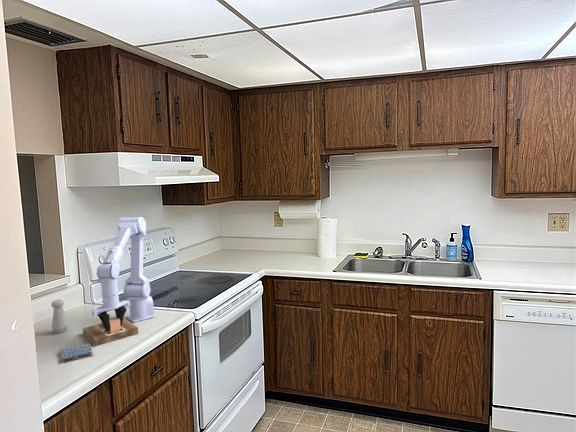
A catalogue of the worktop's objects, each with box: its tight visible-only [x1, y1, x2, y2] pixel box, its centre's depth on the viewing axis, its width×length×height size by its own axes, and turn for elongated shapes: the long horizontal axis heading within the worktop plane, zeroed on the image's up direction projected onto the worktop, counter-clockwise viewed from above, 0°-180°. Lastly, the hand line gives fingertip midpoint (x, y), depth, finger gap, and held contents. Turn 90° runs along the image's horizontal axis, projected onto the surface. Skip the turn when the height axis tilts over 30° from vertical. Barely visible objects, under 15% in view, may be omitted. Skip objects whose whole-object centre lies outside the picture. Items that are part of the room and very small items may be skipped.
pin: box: [106, 316, 121, 334], centre depth 164 cm, size 4×4×7 cm
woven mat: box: [58, 343, 95, 364], centre depth 150 cm, size 10×11×2 cm
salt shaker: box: [50, 299, 69, 334], centre depth 171 cm, size 6×6×13 cm
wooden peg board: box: [82, 316, 140, 347], centre depth 167 cm, size 16×16×3 cm
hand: (113, 328), depth 164 cm, fingers open, 4 cm apart
